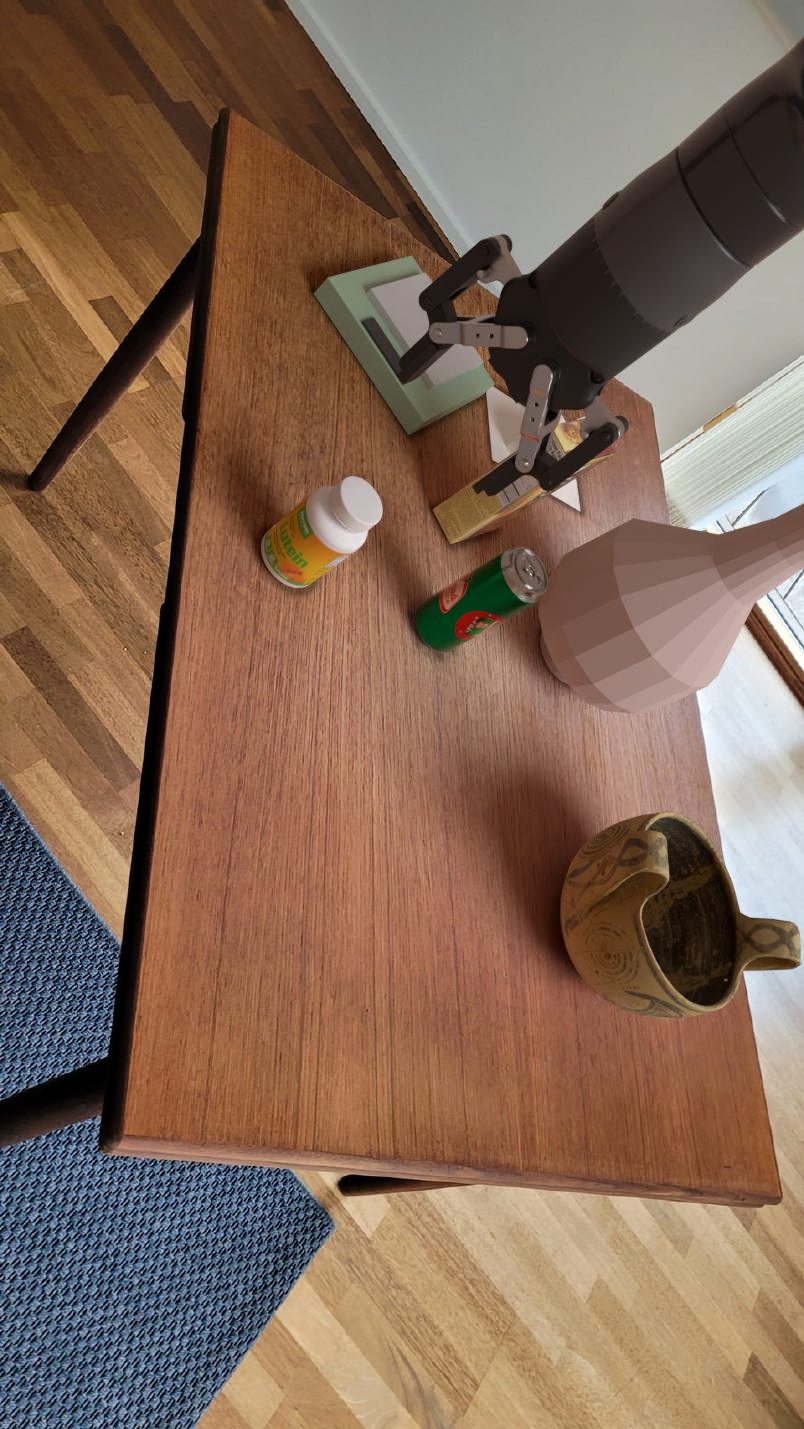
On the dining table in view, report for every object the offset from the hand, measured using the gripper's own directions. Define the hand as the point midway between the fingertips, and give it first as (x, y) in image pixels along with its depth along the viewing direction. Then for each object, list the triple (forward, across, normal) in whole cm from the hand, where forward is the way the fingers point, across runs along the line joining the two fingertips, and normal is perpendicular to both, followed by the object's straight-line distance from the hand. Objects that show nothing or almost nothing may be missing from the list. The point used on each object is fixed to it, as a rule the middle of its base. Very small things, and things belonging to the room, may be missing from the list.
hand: (442, 432), depth 60 cm
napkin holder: (+19, -4, -44) cm, 48 cm away
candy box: (+19, -6, -24) cm, 31 cm away
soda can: (+19, -12, -10) cm, 24 cm away
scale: (+18, +12, -32) cm, 39 cm away
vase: (+19, -23, -25) cm, 39 cm away
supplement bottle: (+19, 0, 0) cm, 19 cm away
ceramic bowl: (+19, -42, -4) cm, 46 cm away
